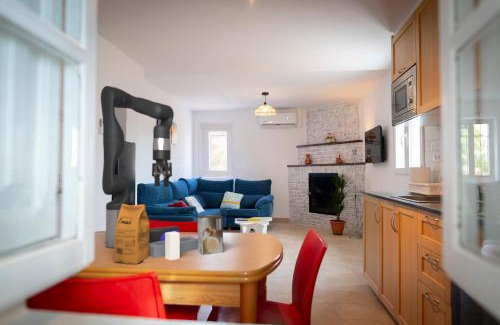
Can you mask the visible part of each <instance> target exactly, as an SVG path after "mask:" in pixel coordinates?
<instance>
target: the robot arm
mask: <svg viewBox="0 0 500 325" xmlns="http://www.w3.org/2000/svg"><path fill="white" fill-rule="evenodd" d="M100 104H101V114H102V128H103V130H102V131H103V132H102V146H103V147H102V148H103V166H102V179H101V187H102V192H103V193H104V194H105V195H107V196H115V198H114V199H112V200H111V201H109V202H107V203H106V205H105V247H106V248H112V249H113V248H114V239H115V229H116V224H117V219H118V216H119V212H120V209H121V205H122V204H126V205H129V204H128V203H129V201H130V199H129V198H130V180H129V177H128V176H127V175H125V174H115V167H116V164H117V162H118V159H119V158H120V157H121V155H122V153H123V152H124V149H125V133H124V130H123V129H122V126H121V124H120V122H119V121H118V119H117V116H116V111H115V109H129V110H132V111H134V112H136V113H139V114H141V115H144V116H147V117H149V118H151V119H153V120H159V121H160V123H159V124H157V125H154V126H153V130H152V133H153V134H152V135H153V138H152V140H153V141H152V160H153V161H155V162H152V164H151V177H153V178H154V187H160V186H161V175H162V177H163V179H162V180H163V182H162V184H163V188H169V187H170V178H171V177H173V164H172V161H171V159H172V158H171V154H172V153H171V148H172V147H171V128H172V125H173V120H174V117H175V114H174V109H173V108H172V106H170V105H168V104H164V103H160V102H157V101H153V100H151V99H147V98H143V97H139V96H134V95H131V94H130V93H128V92H126V91H125V90H123V89H120V88H118V87H114V86H112V85H111V86H110V85H105V86H104V87H103V88H102V89H101V92H100ZM169 161H171V162H169Z"/></svg>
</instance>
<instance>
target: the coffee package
mask: <svg viewBox="0 0 500 325" xmlns="http://www.w3.org/2000/svg"><path fill="white" fill-rule="evenodd" d="M146 208H147V205H146V204H134V205H133V204H132V205H131V204H130V205H129V204H128V205H126V204H122V205H121V209H120V212H119V216H118V219H117V224H116V229H115V239H114V253H113V256H114V257H113V258H114V261H113V262H114V263H122V264H124V265H136V264H137V265H139V263H141V262H142V261H144V260H147V259H148V258H149V257H150V256H149V229H150V220H149V217H148V215H147V214H148V213H147V212H146Z"/></svg>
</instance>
